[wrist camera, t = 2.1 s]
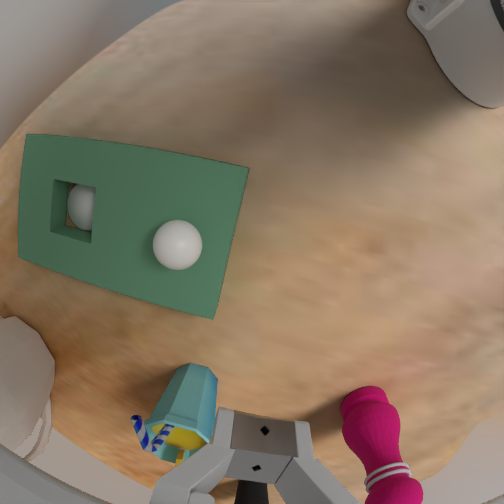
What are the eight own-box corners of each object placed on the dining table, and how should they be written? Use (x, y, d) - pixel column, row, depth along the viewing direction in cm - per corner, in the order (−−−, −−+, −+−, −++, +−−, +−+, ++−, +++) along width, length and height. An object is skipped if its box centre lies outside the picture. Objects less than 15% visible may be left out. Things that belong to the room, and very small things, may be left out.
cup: (147, 326, 32) (88, 419, 18) (213, 322, 32) (181, 429, 17) (180, 413, 36) (152, 503, 22) (236, 412, 35) (225, 510, 21)
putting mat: (42, 134, 26) (26, 133, 23) (249, 168, 27) (247, 168, 24) (33, 249, 30) (18, 257, 27) (217, 305, 31) (213, 319, 28)
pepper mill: (377, 419, 35) (415, 535, 16) (330, 420, 36) (353, 549, 16) (396, 382, 33) (452, 506, 14) (345, 382, 33) (385, 525, 14)
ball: (165, 211, 25) (149, 220, 21) (210, 221, 25) (201, 232, 22) (158, 254, 26) (142, 270, 23) (201, 265, 27) (191, 283, 23)
